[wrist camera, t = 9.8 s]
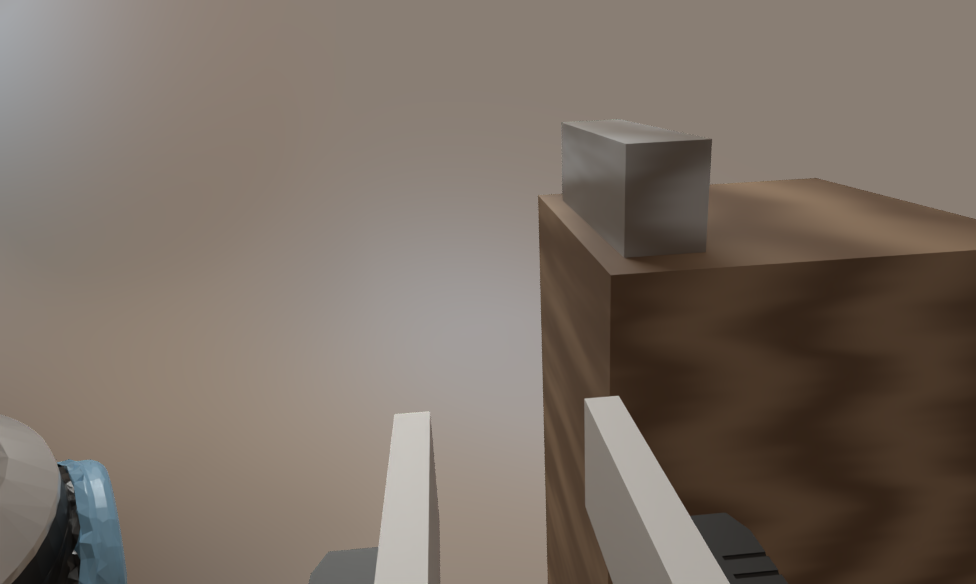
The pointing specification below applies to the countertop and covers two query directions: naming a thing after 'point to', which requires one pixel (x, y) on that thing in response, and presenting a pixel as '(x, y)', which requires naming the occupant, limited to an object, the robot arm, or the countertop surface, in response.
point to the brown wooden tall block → (762, 357)
